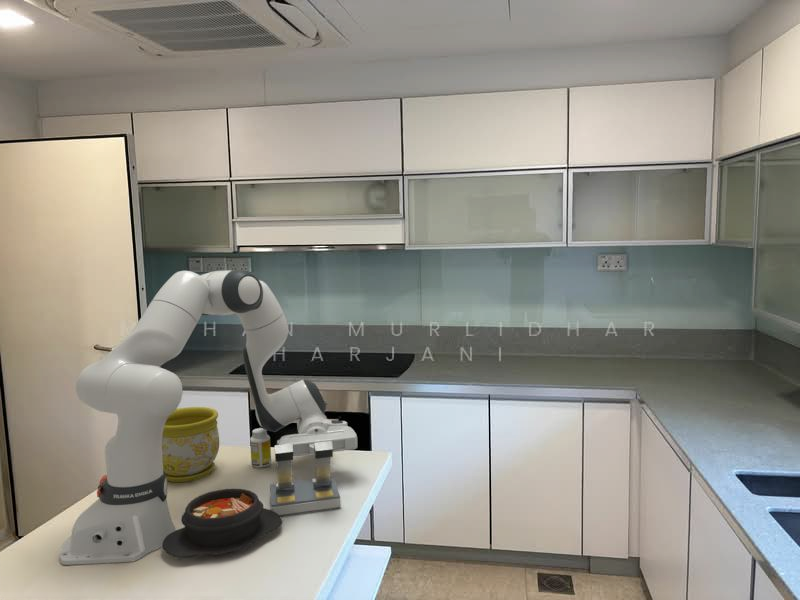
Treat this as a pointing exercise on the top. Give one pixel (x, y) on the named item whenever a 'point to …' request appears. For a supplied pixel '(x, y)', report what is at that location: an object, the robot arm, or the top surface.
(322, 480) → the lever right
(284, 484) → the lever left
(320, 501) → the switch unit
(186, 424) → the flowerpot
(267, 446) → the supplement bottle
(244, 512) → the casserole
